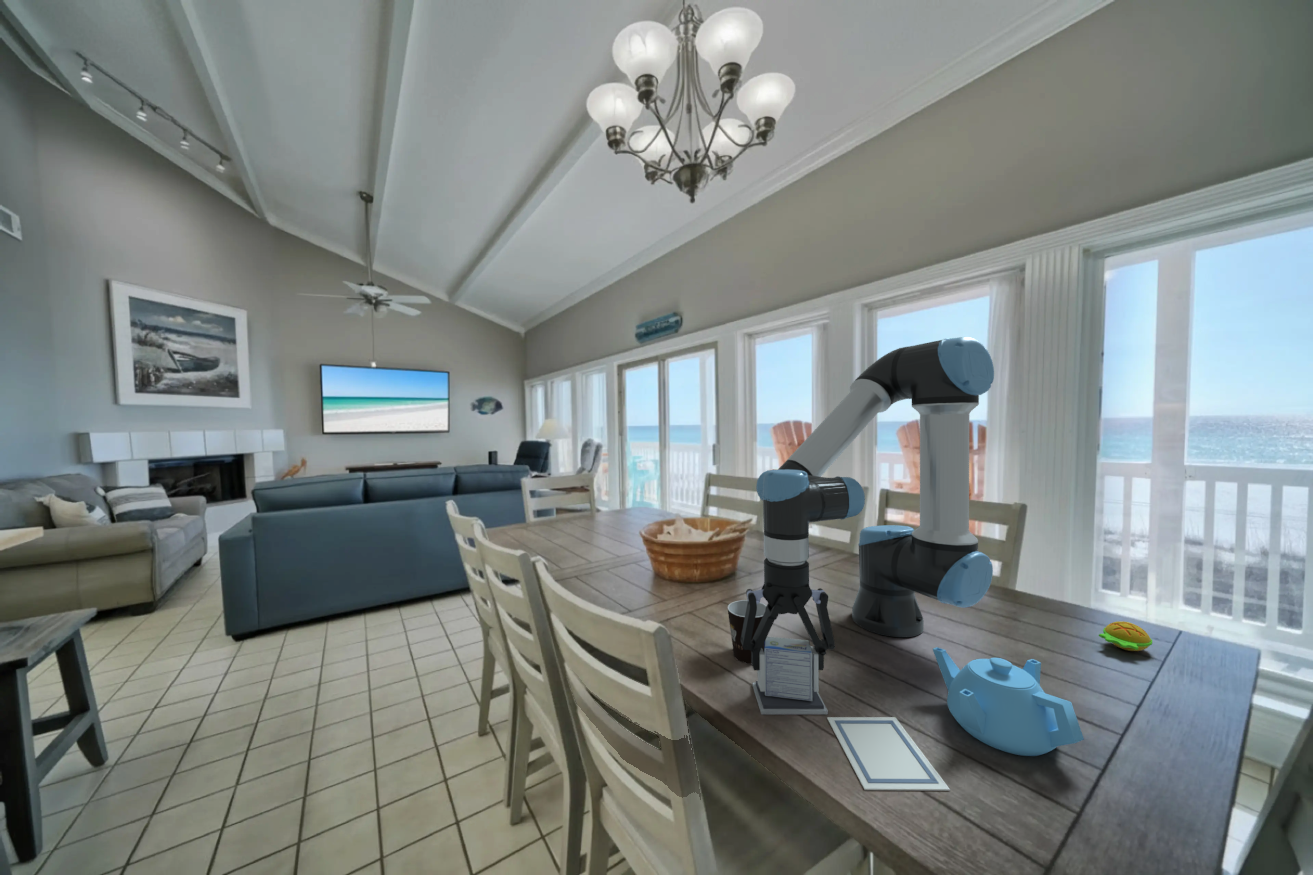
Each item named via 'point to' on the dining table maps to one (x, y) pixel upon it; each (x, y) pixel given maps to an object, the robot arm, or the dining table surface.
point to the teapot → (1007, 705)
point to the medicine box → (788, 668)
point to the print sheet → (885, 754)
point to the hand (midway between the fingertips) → (787, 686)
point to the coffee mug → (736, 625)
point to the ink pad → (788, 704)
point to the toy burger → (1126, 636)
